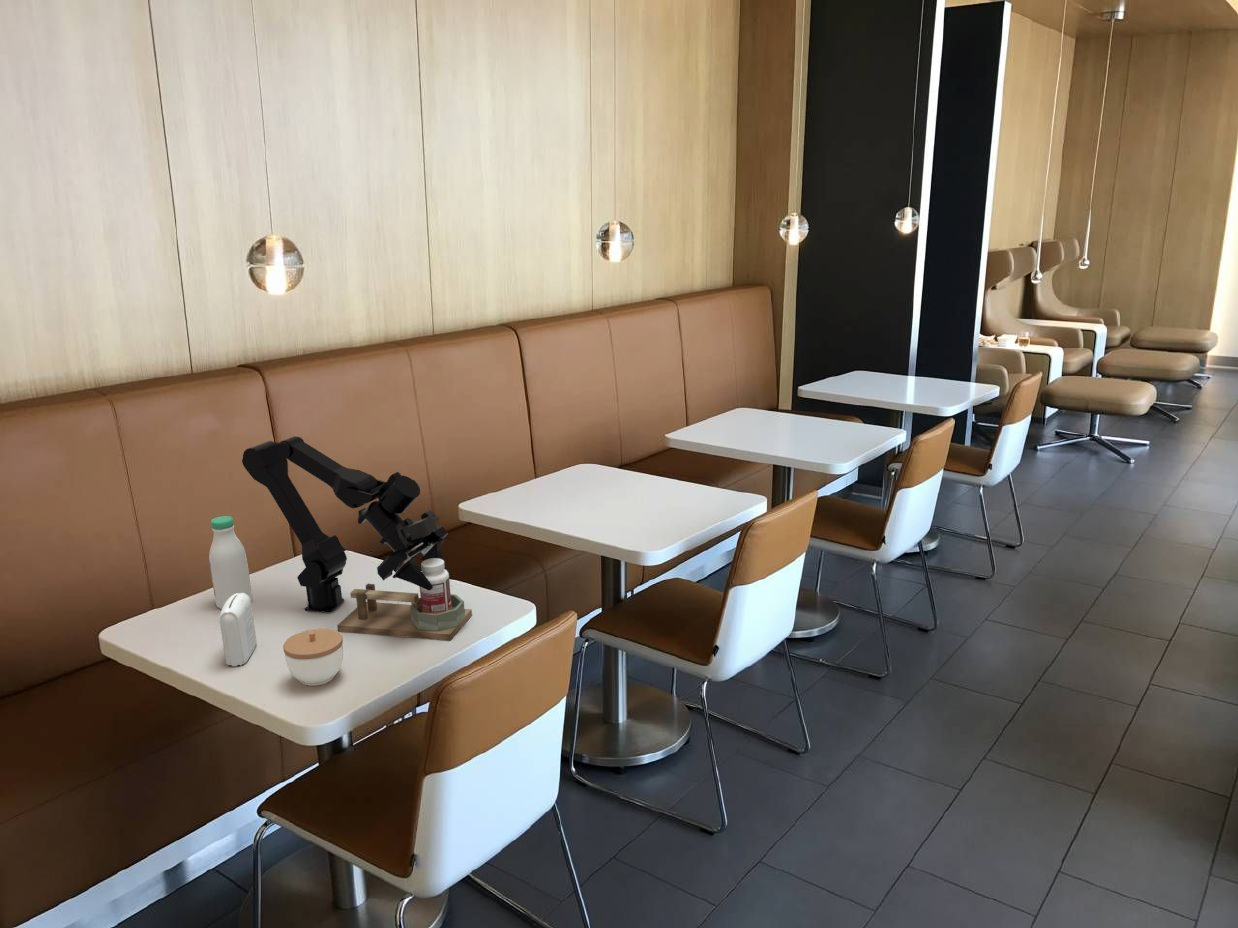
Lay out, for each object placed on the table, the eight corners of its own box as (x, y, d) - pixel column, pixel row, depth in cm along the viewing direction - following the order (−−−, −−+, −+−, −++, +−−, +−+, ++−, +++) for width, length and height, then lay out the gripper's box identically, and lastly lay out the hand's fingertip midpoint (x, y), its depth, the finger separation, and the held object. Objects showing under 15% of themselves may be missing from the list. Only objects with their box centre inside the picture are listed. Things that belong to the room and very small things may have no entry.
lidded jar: (294, 666, 199) (288, 622, 197) (351, 662, 200) (345, 618, 198) (282, 694, 189) (275, 648, 187) (341, 690, 190) (335, 644, 187)
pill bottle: (435, 602, 218) (431, 554, 215) (458, 608, 215) (454, 559, 211) (415, 613, 213) (411, 564, 210) (437, 620, 210) (433, 570, 206)
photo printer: (238, 644, 210) (229, 588, 206) (259, 642, 210) (251, 586, 206) (223, 668, 200) (214, 609, 196) (246, 666, 200) (237, 608, 196)
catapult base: (337, 631, 214) (333, 599, 212) (364, 607, 225) (361, 576, 223) (450, 640, 208) (447, 607, 206) (472, 615, 219) (469, 584, 217)
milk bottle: (260, 600, 230) (248, 516, 224) (231, 613, 224) (218, 527, 218) (237, 593, 234) (225, 510, 228) (208, 606, 228) (195, 521, 222)
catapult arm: (343, 623, 214) (340, 600, 212) (366, 603, 223) (363, 580, 222) (452, 632, 208) (450, 608, 207) (470, 610, 218) (468, 588, 216)
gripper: (384, 518, 200) (436, 578, 199) (437, 489, 217) (485, 544, 216) (354, 550, 206) (405, 609, 205) (408, 519, 222) (455, 574, 221)
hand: (440, 582), depth 211 cm, fingers closed on pill bottle, 6 cm apart
